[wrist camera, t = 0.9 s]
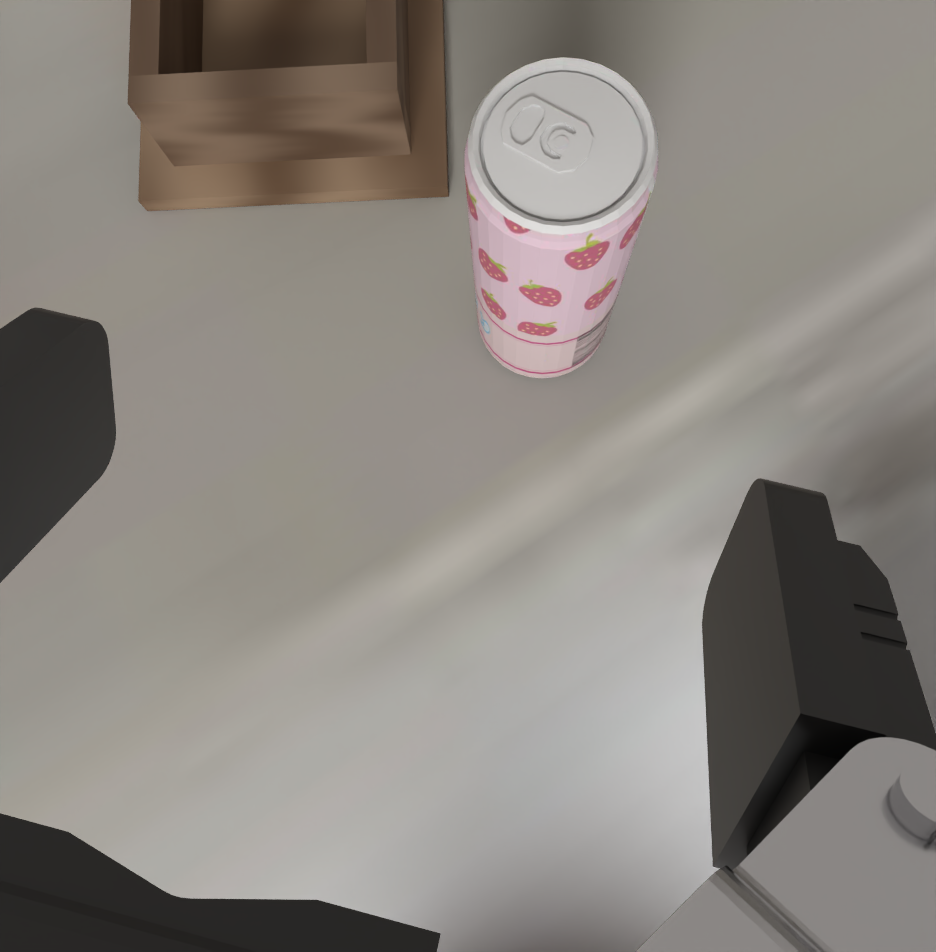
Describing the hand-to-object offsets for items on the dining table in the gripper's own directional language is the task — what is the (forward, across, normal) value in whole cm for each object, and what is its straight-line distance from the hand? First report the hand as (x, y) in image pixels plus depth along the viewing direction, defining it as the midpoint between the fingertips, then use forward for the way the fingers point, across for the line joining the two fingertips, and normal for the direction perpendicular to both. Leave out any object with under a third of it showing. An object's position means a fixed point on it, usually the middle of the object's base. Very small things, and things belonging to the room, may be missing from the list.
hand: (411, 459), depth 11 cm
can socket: (+34, +14, +4) cm, 37 cm away
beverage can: (+28, 0, +11) cm, 30 cm away
